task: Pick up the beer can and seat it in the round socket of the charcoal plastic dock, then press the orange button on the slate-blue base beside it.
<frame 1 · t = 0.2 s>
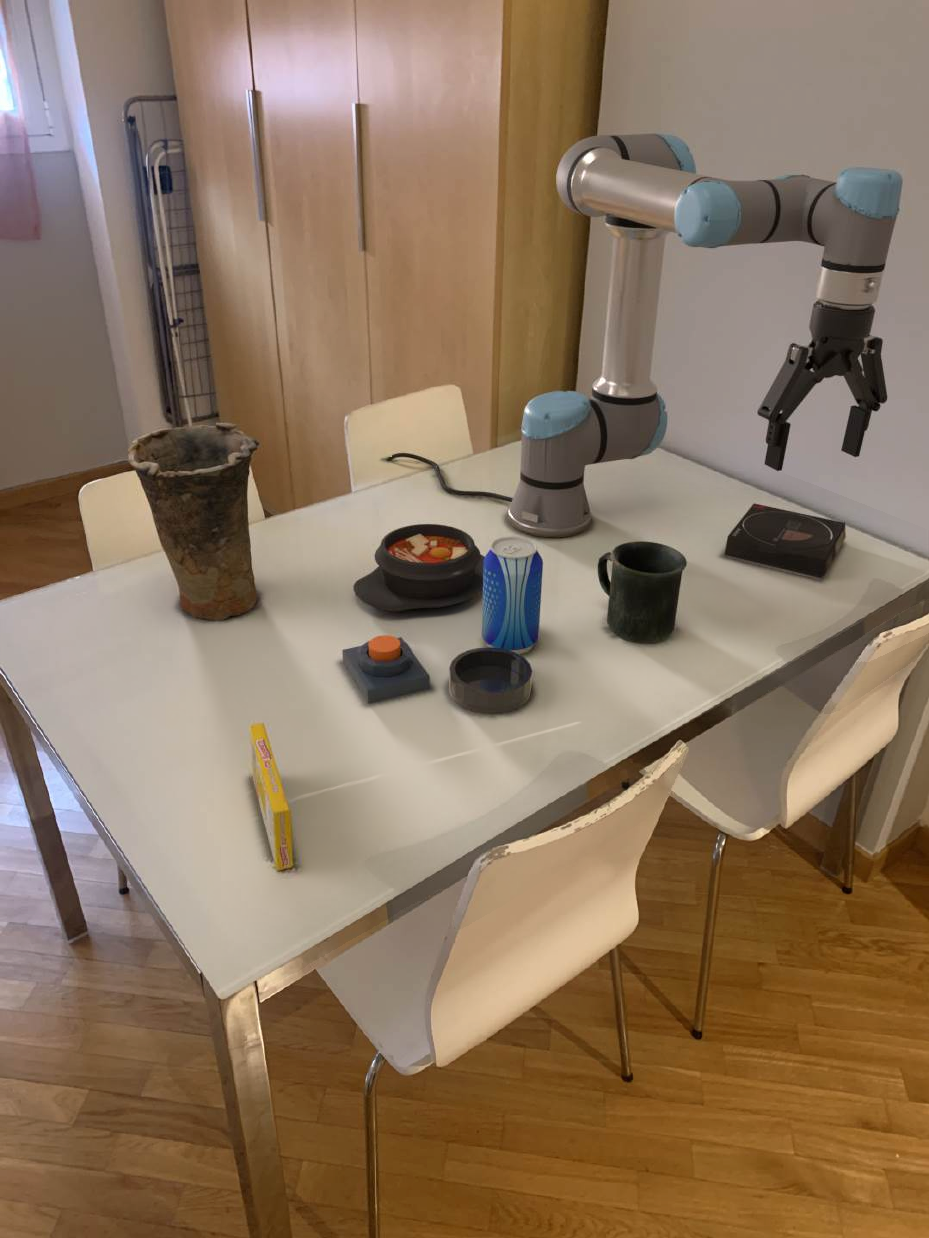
hand: (812, 460, 135), 28 cm above the table, tool pointing down, fingers open, 13 cm apart
casserole: (428, 590, 159), on the table
button: (384, 648, 135), point 4 cm above the table, slide at 0.1 cm
dock: (489, 690, 134), on the table
vase: (213, 603, 154), on the table
button base: (385, 675, 137), on the table
portable cd player: (784, 551, 173), on the table
mug: (631, 623, 151), on the table
candy box: (273, 822, 111), on the table
beer can: (509, 644, 145), on the table
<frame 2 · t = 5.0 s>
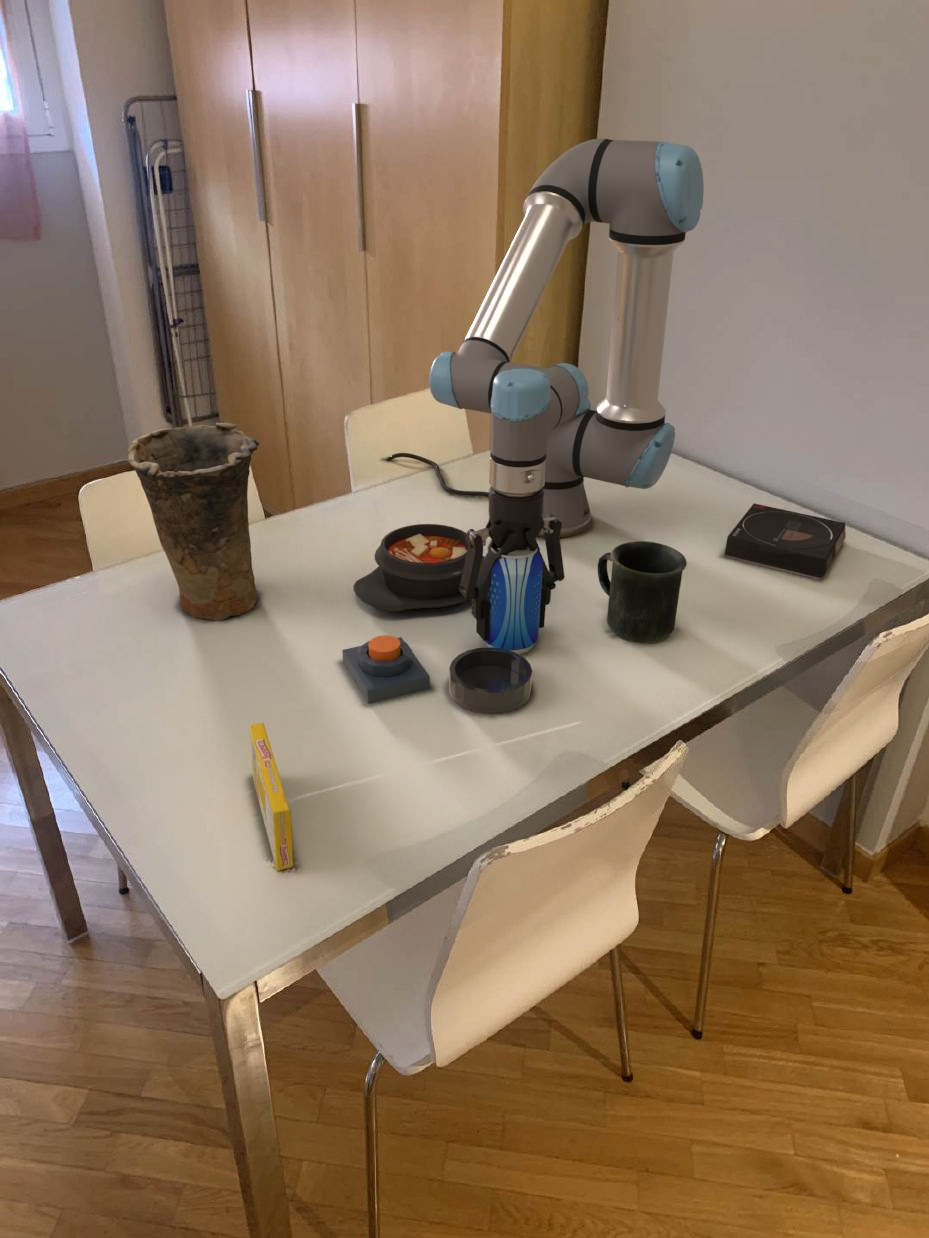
hand: (510, 629, 144), 2 cm above the table, tool pointing down, fingers closed on beer can, 8 cm apart
beer can: (509, 644, 145), on the table, touching gripper
everything else where it was.
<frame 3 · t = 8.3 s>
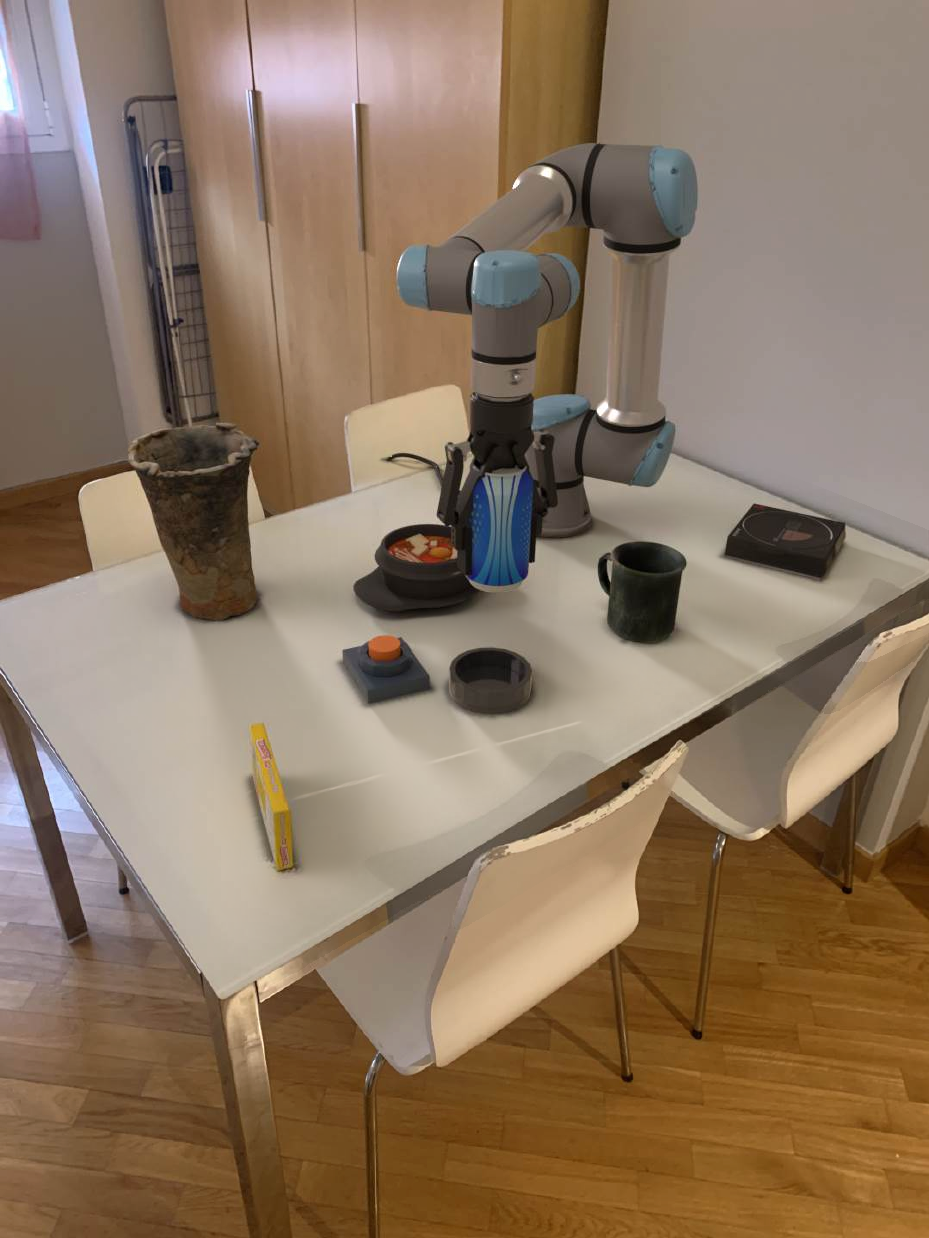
hand: (496, 564, 126), 19 cm above the table, tool pointing down, fingers closed on beer can, 8 cm apart
beer can: (495, 581, 127), point 16 cm above the table, touching gripper
everything else where it was.
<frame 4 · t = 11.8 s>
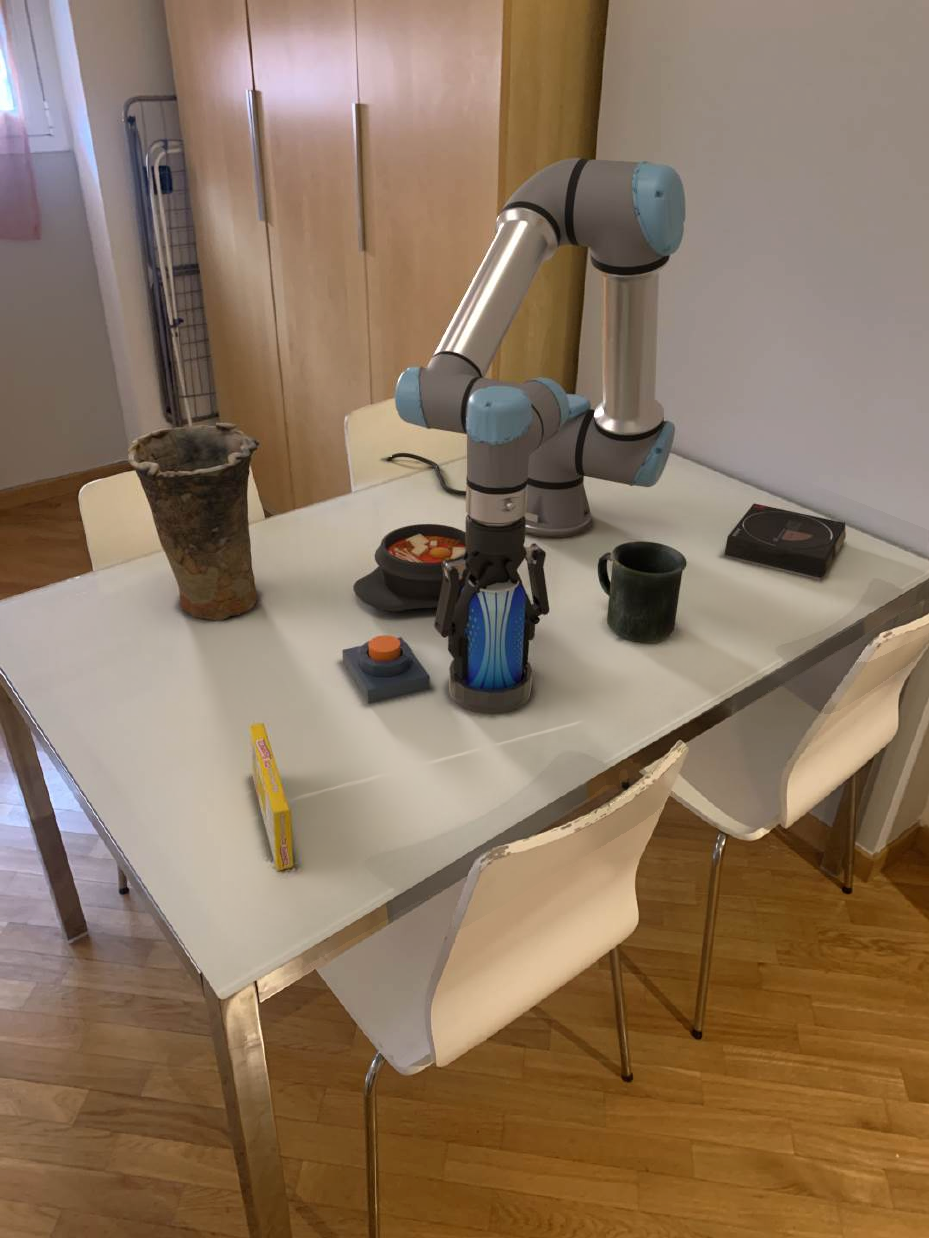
hand: (491, 667, 133), 4 cm above the table, tool pointing down, fingers closed on beer can, 8 cm apart
beer can: (490, 682, 134), point 1 cm above the table, touching gripper
everything else where it was.
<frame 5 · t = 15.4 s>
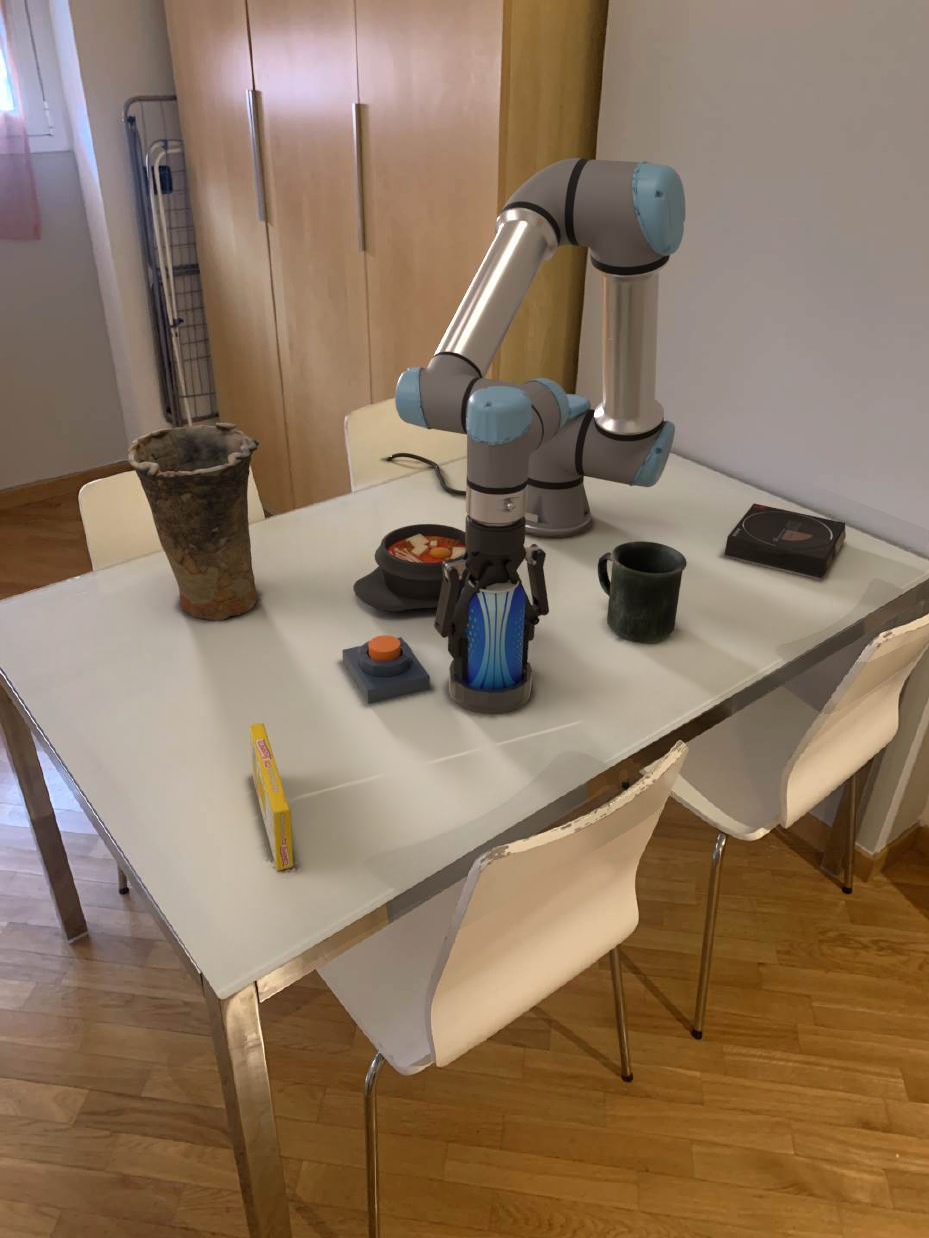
hand: (490, 667, 132), 4 cm above the table, tool pointing down, fingers closed on beer can, 8 cm apart
beer can: (490, 683, 134), point 1 cm above the table, touching gripper
everything else where it was.
when the fingers open (4 cm above the table, at t = 18.5 s): beer can stays where it is, resting on dock.
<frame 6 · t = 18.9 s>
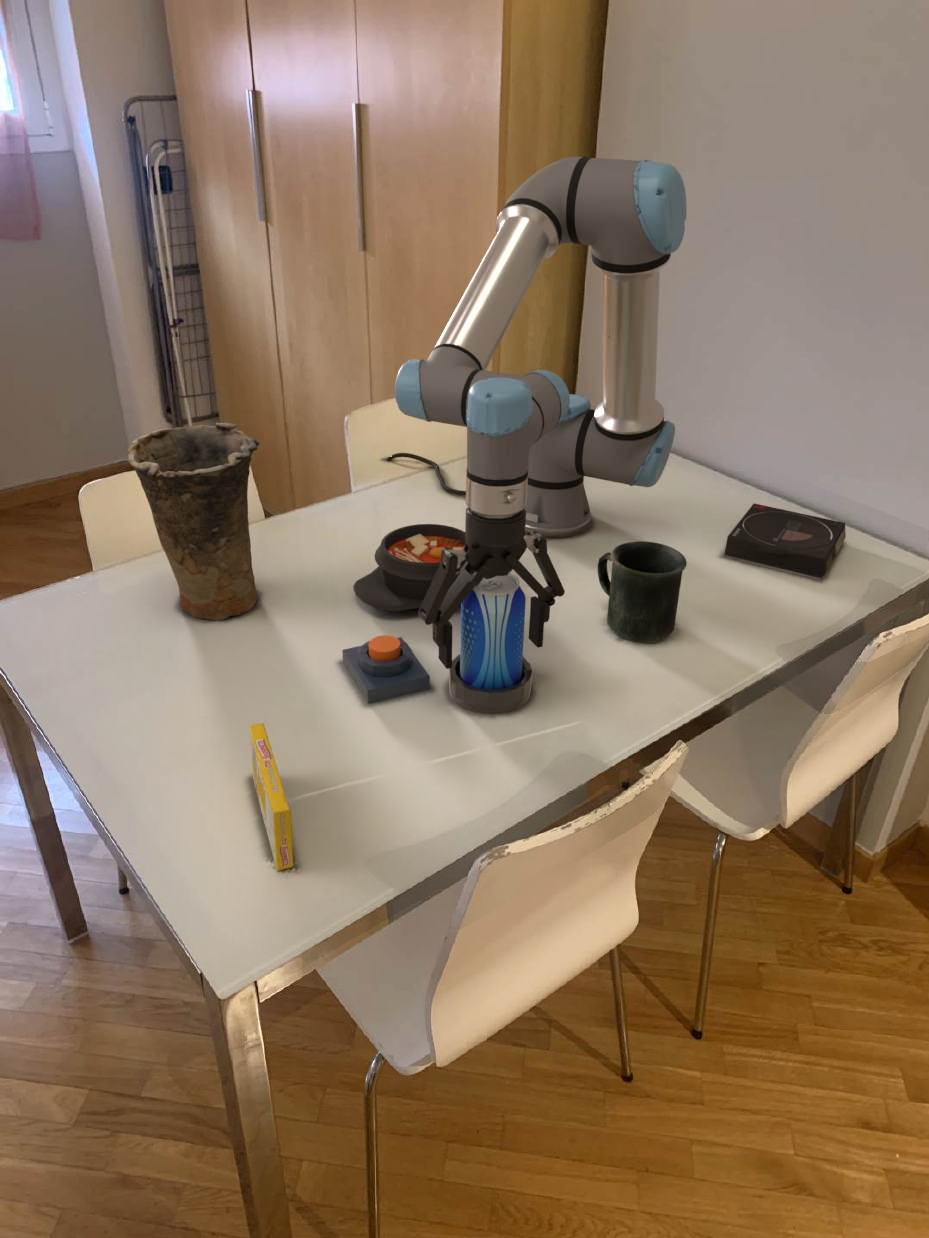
hand: (491, 652, 131), 6 cm above the table, tool pointing down, fingers open, 13 cm apart
beer can: (490, 685, 134), point 1 cm above the table, touching dock
everything else where it was.
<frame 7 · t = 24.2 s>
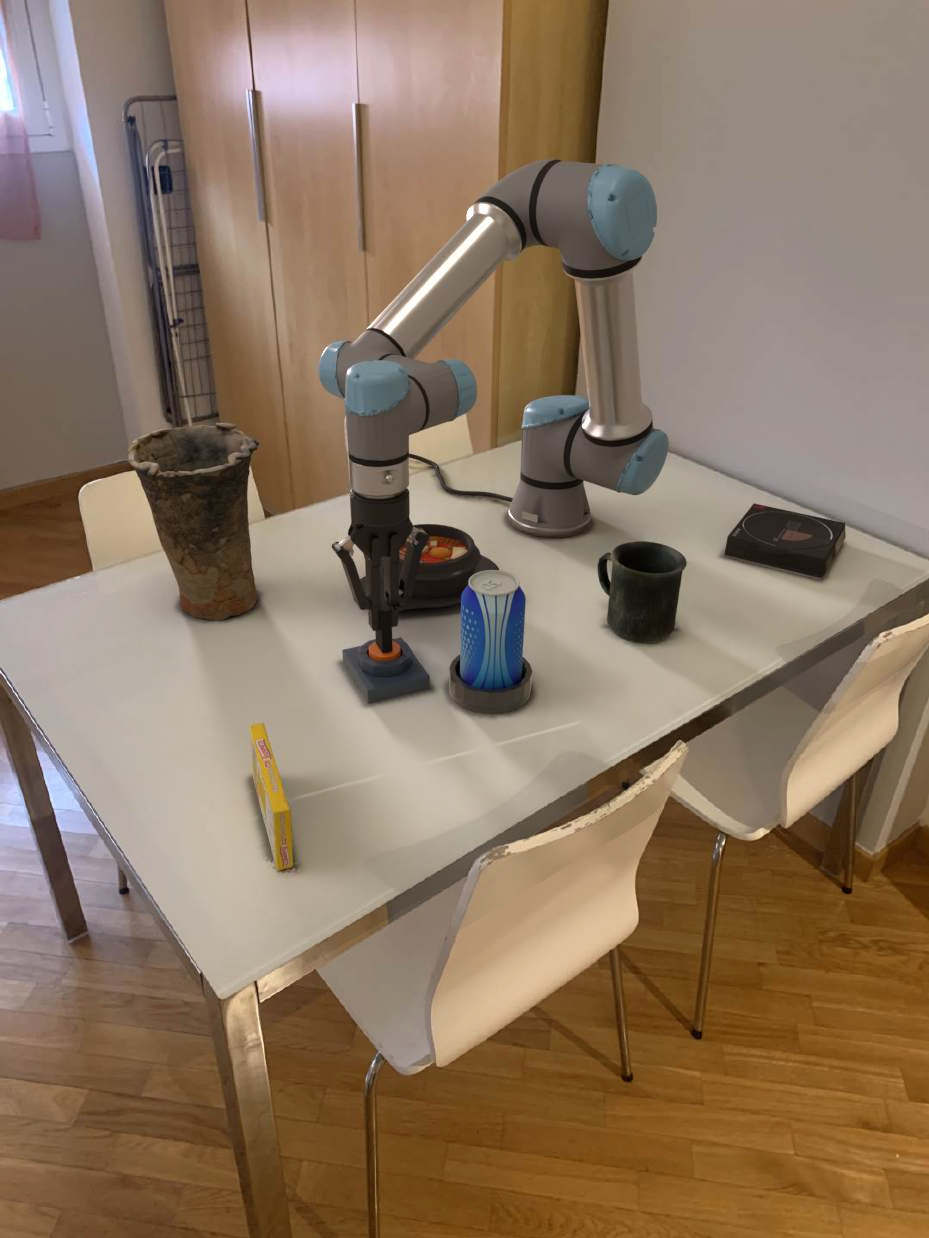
hand: (384, 646, 135), 5 cm above the table, tool pointing down, fingers closed
button: (384, 653, 135), point 4 cm above the table, slide at -0.7 cm, touching gripper
everything else where it was.
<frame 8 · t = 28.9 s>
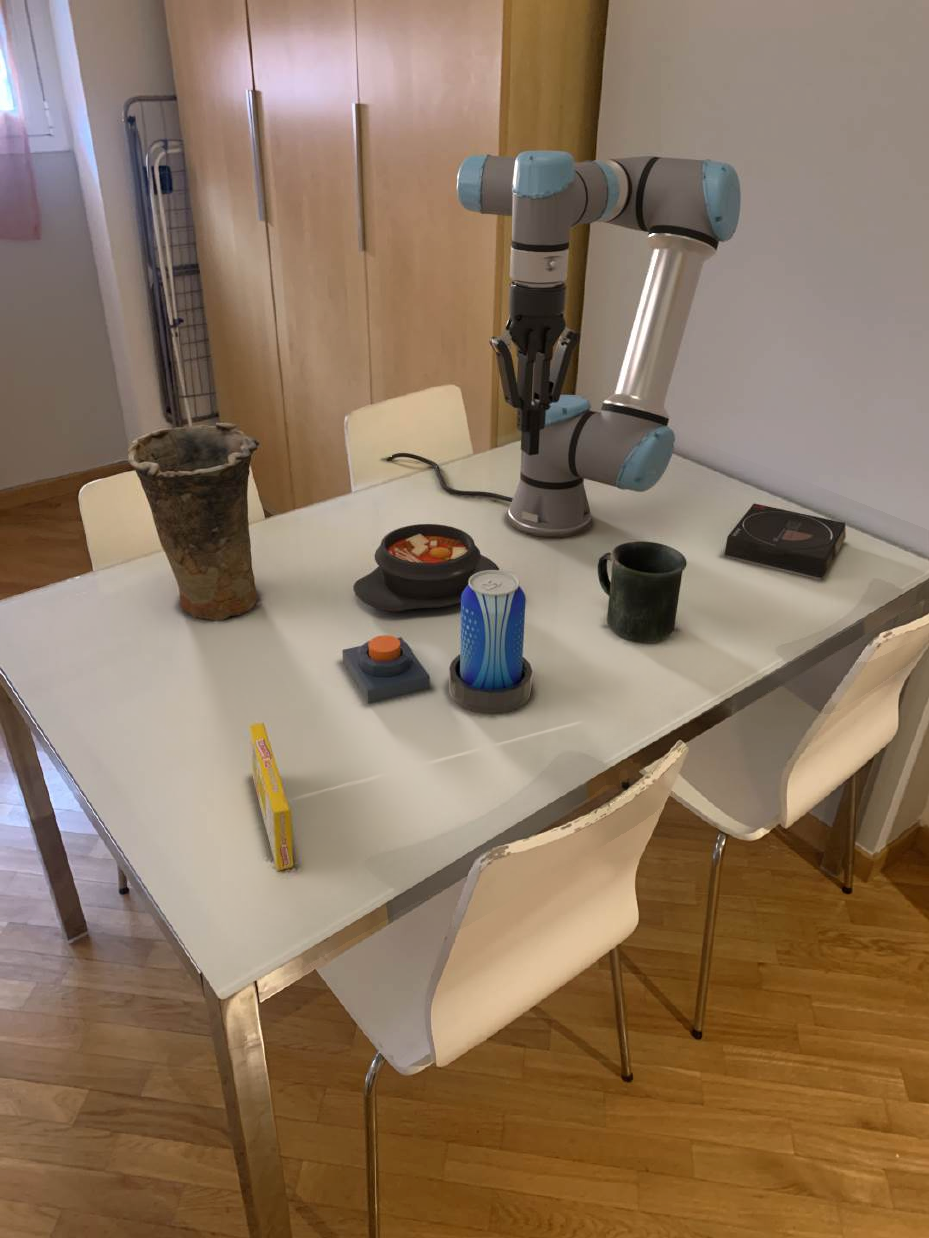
hand: (529, 451, 140), 26 cm above the table, tool pointing down, fingers closed
button: (384, 648, 135), point 4 cm above the table, slide at 0.1 cm
everything else where it was.
at the end: beer can 0.1 cm off-centre in the dock, point 0.8 cm above the dock's base; beer can tilted 0°; button pushed in 1.0 cm at the most during the clip, back to where it started at the end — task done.
